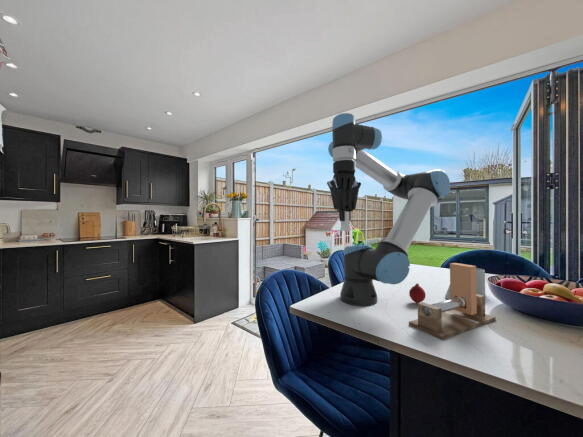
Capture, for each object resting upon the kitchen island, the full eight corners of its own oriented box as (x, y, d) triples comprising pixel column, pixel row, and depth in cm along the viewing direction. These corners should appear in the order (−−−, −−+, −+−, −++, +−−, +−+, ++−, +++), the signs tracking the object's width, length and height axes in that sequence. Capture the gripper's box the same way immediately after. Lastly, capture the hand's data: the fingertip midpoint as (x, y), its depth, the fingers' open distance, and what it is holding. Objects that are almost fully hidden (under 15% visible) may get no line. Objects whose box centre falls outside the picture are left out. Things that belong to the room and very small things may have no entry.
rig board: (443, 339, 69) (442, 313, 69) (408, 324, 79) (408, 301, 79) (495, 320, 81) (495, 297, 81) (460, 309, 91) (460, 289, 91)
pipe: (431, 318, 73) (431, 307, 73) (421, 314, 76) (421, 304, 76) (480, 303, 84) (480, 294, 84) (470, 301, 87) (470, 292, 87)
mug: (489, 294, 107) (488, 269, 107) (480, 298, 103) (479, 272, 103) (459, 288, 118) (458, 265, 118) (449, 291, 113) (449, 267, 113)
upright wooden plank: (471, 315, 79) (470, 266, 79) (450, 308, 85) (449, 263, 85) (476, 313, 80) (476, 265, 80) (455, 307, 86) (455, 262, 86)
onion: (425, 307, 94) (424, 286, 94) (408, 304, 97) (408, 284, 97) (426, 302, 99) (425, 282, 99) (410, 300, 102) (410, 281, 102)
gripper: (335, 157, 77) (336, 231, 77) (366, 160, 83) (367, 230, 83) (321, 162, 84) (323, 231, 84) (351, 165, 89) (352, 229, 89)
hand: (345, 230), depth 83 cm, fingers closed
